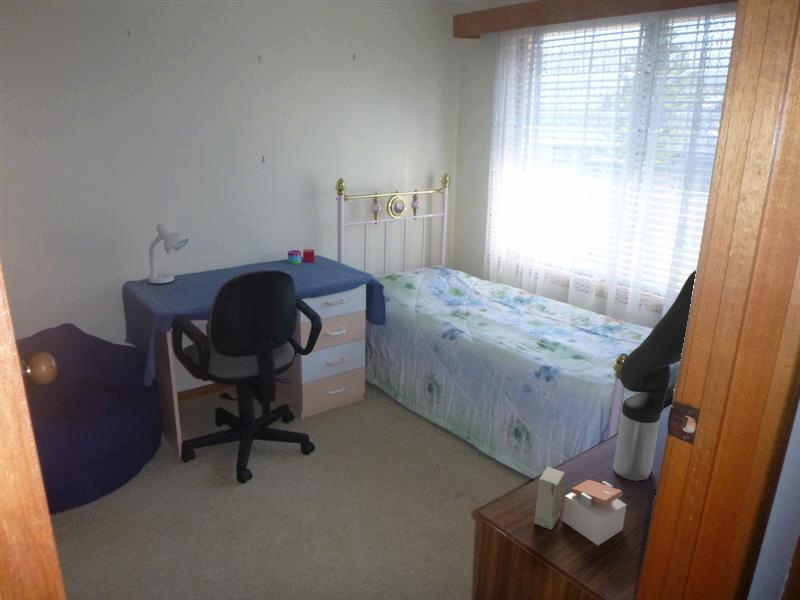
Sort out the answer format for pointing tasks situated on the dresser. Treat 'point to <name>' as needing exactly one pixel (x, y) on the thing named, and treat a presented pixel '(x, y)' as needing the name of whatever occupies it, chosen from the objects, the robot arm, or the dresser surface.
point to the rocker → (597, 492)
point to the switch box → (594, 516)
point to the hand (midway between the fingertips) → (655, 493)
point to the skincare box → (549, 497)
